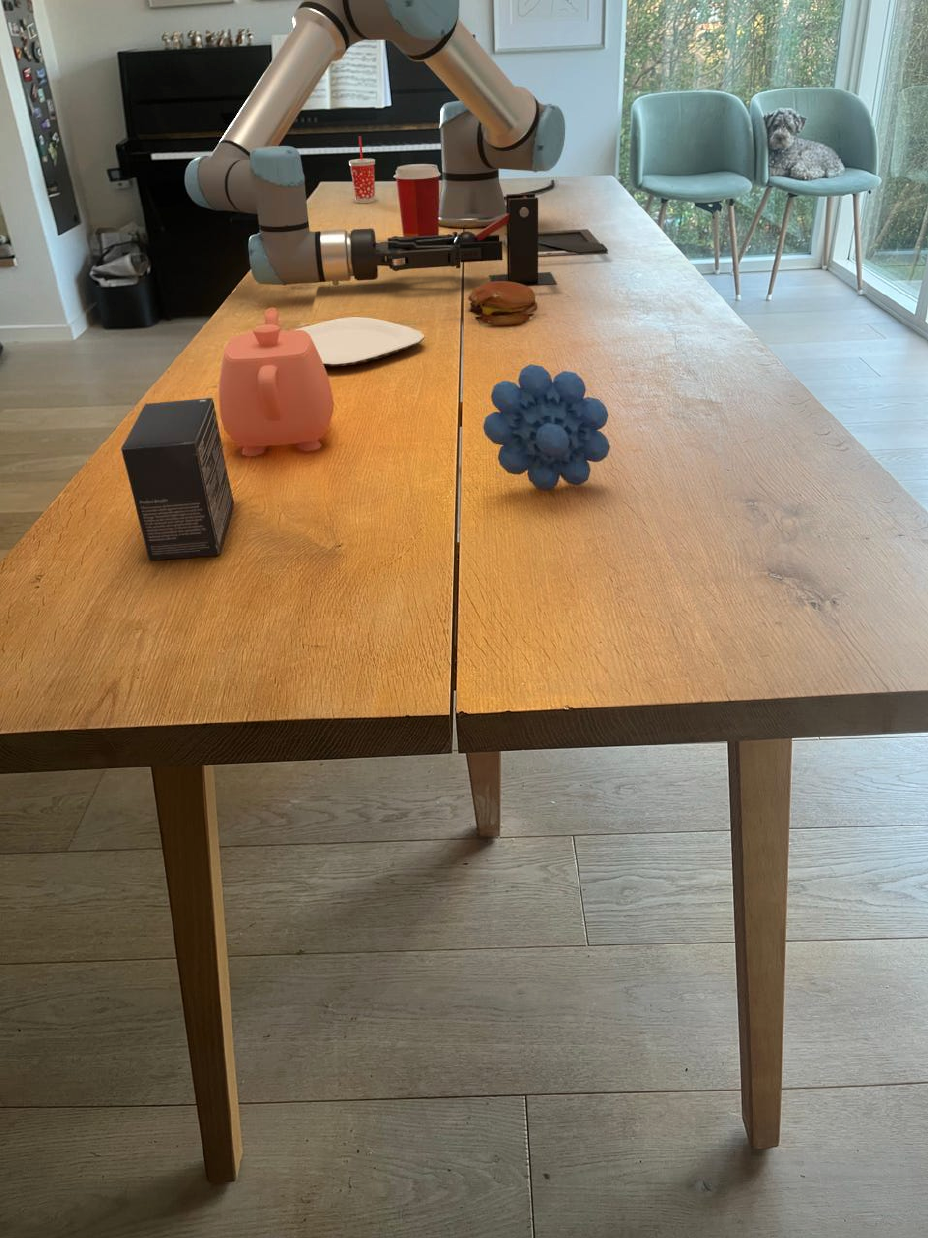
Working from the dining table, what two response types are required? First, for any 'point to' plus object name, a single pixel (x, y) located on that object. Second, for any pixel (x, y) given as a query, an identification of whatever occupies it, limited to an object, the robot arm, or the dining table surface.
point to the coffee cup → (418, 199)
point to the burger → (502, 302)
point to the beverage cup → (363, 178)
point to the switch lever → (470, 237)
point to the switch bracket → (523, 243)
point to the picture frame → (568, 243)
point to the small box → (179, 479)
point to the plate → (359, 340)
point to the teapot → (274, 389)
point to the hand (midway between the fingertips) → (500, 247)
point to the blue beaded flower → (547, 427)
